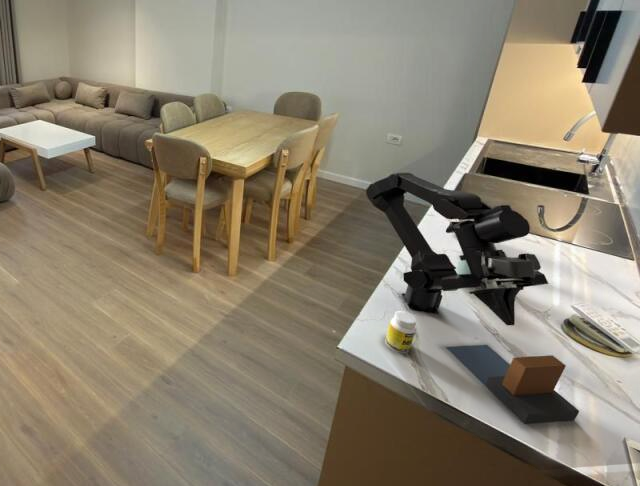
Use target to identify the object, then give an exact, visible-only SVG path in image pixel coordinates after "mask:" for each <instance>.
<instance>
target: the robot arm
mask: <svg viewBox="0 0 640 486" xmlns="http://www.w3.org/2000/svg"><path fill="white" fill-rule="evenodd" d="M407 193H408V194H410V195H412V196H414V197H416V198H419V199H421V200H423V201H425V202H426V203H429V204H430V205H431V206H432V208H433V210H434V212H437V214H439V215H440V216H442V217H443V218H445V219H447V220H457V221H450V222H449V225H448V226H447V228H446V229H445V233H447V234H454V235H455V237H456V240H457V242H458V245H459V247H460V250H461V252H463V255H461V254H460V255H461V256H460V255H459V258H460V259H461V261H462V260H466V262H467V264H468V267H469V269H470V272H471V274H457V272H456V271H457V266H455V265H454V263H452V261H451V260H450V258H449V256H448V255H447V254H446V253H437V252H435V251H434V250H433V249H432V247H431V246H430V244H429V243H428V241H427V240H426V238H425V237H424V235H423V233H422V232H421V230H420V229H419V227H418V226H417V224H416V223H415V221H414V220H413V218H412V217H411V215H410V213H409V212H408V211H407V209H406V207H405V205H404V204H405V197H406V196H405V195H406V194H407ZM365 194H366V197H367V199H368V201H370V203H371V204H372V205H373V207H375V208H376V209H378V210H379V211H381V212H383V213H384V215H385V216H386V217H387V220H389V223H390V224H391V226H392V228H393V229H394V231H395V232H396V234H397V236H398V237H399V240H401V242H402V245H404V247H405V250H406V251H407V252H408V254H409V256H410V257H411V262H410V263H411V264H410V270H411V271H405V272H403V274H402V275H403V282H404V283H406V284H407V286H406V290H405V292H404V293H401V297H402V299H403V300H404V303H406V305H407V307H408V309H409V310H411V311H416V312H420V313H421V312H422V313H427V314H432V315H433V314H434V315H439V314H440V312H439V311H438V309H439V308H440V306H441V303H442V299H443V295H442V293H443V292H454V291H458V290H460V289H473V290H472V291H468V294H470V295H474V296H475V297H476V298H477V299H478V300H479V301H480V302H482V304H484V305H485V306H486V307H487V308H488V309H489V310H491V312H492V313H493V314H495V316H496V317H497V318H498V319H500V321H502V323H504V324H505V326H515V324H516V323H515V321H516V317H515V313H516V311H515V310H516V309H515V306H516V305H515V304H516V297H517V295H518V294H519V292H521V291H523V290H524V289H525V288H527V287H535V286H543V285H549V281H548V280H547V277H546V275H545V274H544V273H543V272H541V271H540V270H541V269H542V265H541V264H540V263H541V262H540V260H539V259H538V258H537V256H536V254H534V253H519V254H518V256H517V257H516V256H515V257H511V256H507V254H506V252H505V251H503V249H497V248H496V245H495V244H501V243H505V242H508V241H509V242H510V241H513V240H516V239H520V238H524V237H527V236H528V235H529V233H530V231H531V226H530V222H529V221H528V220H527V219H526V218H525V217H524V216H523V214H521V213H519V212H518V211H515V210H513V209H512V206H511V205H510V204H499V205H496V206H494V207H491V206H490V205H489V204H487V203H485V202H484V201H483V200H482V198H481V197H480V196H479V195H477V194H476V193H471V192H466V191H463V190H462V191H461V190H454V189H447V188H444V187H442V186H440V185H437V184H435V183H432V182H430V181H427V180H425V179H423V178H421V177H418V176H416V175H414V174H413V173H411V172H394V173H391V174H390V175H388V176H387V177H385V178H382V179H379V180H377V181H375V182H371V183H370V184H369V185H368V186H367V188H366V190H365ZM458 219H459V220H467V219H474V221H471V220H467V221H464V222H459V221H458ZM484 279H487V280H484Z"/></svg>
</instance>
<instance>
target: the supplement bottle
mask: <svg viewBox="0 0 640 486" xmlns="http://www.w3.org/2000/svg"><path fill="white" fill-rule="evenodd" d="M416 324H417V318H416V317H415V316H414V315H412V314H411V313H409V312H407V311H404V310H398V311H395V312H394V316H393V318H391V320H390V322H389V326H388V330H387V333H386V336H385V340H384V342H385V344H386V345H387V347H388V348H390V349H391V350H393V351H395V352H397V353H403V354H405V353H408V352H409V351H410V349H411V346H412V343H413V340H414V338H415V334H416V331H417V328H416Z"/></svg>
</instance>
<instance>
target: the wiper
mask: <svg viewBox="0 0 640 486" xmlns="http://www.w3.org/2000/svg"><path fill="white" fill-rule="evenodd" d="M509 364H510V367H509V369H508V371H507V374H506V376H494V377H488V380H487V382H486V384H485V385H484V387H485V388H486V389H487V390H488V391H489V392H491V394H493V396H495V398H497V399H498V400H499V399H500V400H501V401H502V402H503V403H504V404H505V405H506V406H507V407H508V408H509V409H510V410H511V411H512V412H513V413H514V414H515V415H516V416H517V417H518V418H519V419H520V420H521V421H522V422H523V423H533V424H539V423H538V422H548V423H553V422H552V421H563V422H568V421H567V420H576V419H577V417H578V415H579V413H580V410H579V409H578V408H577V407H575V406H574V405H573V404H572V403H570V402H569V401H568V400H567V399H565V397H563V396H562V395H561V394H560V393H559V392H558V391H556V390H555V388H556V386H557V385H558V382H559V381H560V379H561V377H562V375H563V373H564V371H565V369H566V367H567V365H566V364H565V363H563V362H562V361H561V360H559V359H558V358H557V357H555V356H554V355H551V354H549V355H536V356H532V355H531V356H517V357H513V358H512V360H511V361H510V363H509ZM500 400H499V401H500ZM501 401H500V402H501ZM502 402H501V403H502ZM503 403H502V404H503ZM504 404H503V405H504ZM505 405H504V406H505ZM506 406H505V407H506ZM507 407H506V408H507ZM508 408H507V409H508ZM509 409H508V410H509ZM510 410H509V411H510ZM511 411H510V412H511ZM512 412H511V413H512ZM513 413H512V414H513ZM514 414H513V415H514ZM515 415H514V416H515ZM516 416H515V417H516ZM517 417H516V418H517ZM518 418H517V419H518ZM519 419H518V420H519ZM520 420H519V421H520ZM521 421H520V422H521ZM522 422H521V423H522ZM523 423H522V424H523Z"/></svg>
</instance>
